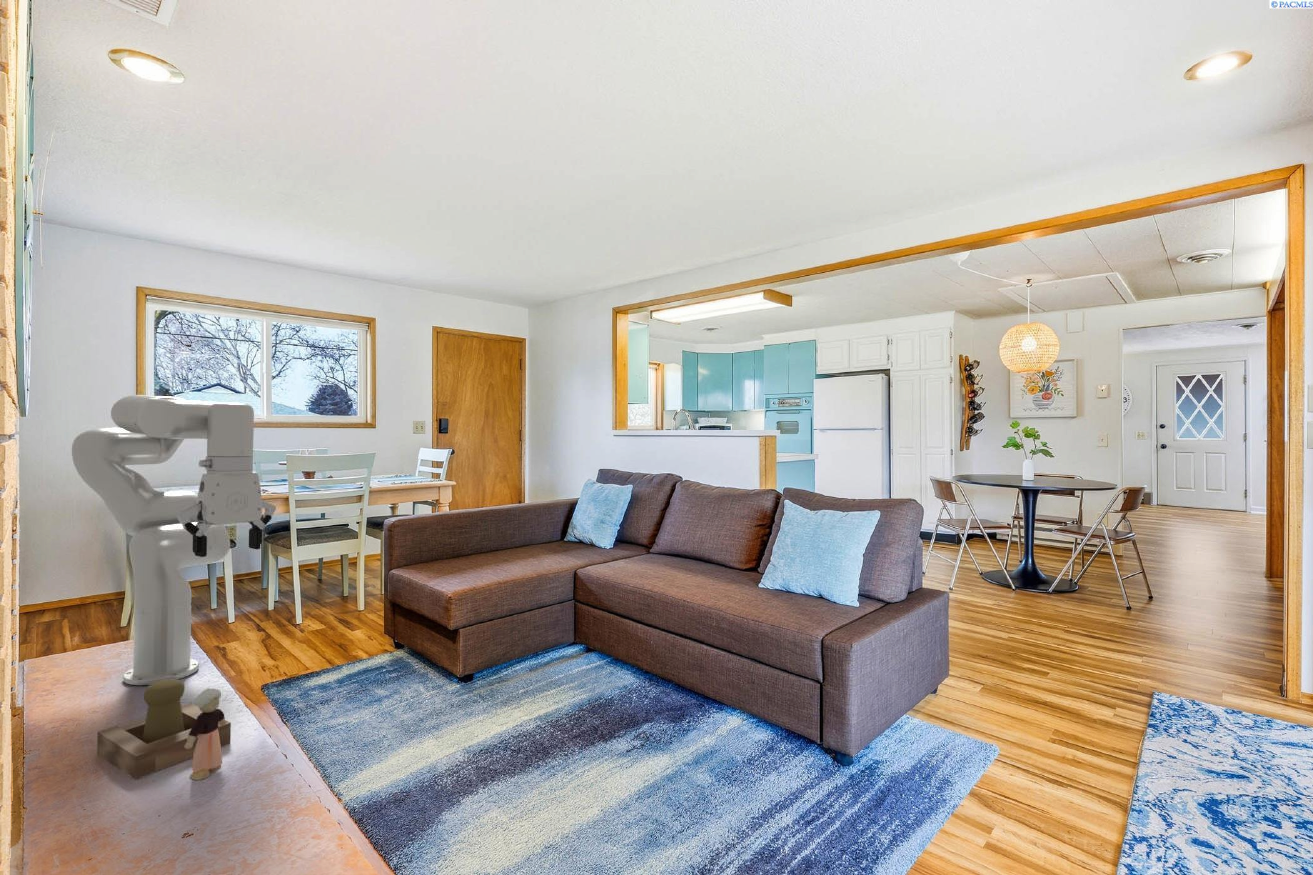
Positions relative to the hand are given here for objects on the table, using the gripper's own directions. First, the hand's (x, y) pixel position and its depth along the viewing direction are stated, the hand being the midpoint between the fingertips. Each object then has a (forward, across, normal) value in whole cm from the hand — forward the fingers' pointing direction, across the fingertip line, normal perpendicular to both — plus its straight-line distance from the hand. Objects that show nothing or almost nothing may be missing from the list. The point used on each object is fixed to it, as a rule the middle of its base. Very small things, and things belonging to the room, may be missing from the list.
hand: (228, 552), depth 123 cm
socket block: (+28, -16, -14) cm, 35 cm away
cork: (+28, -16, -14) cm, 35 cm away
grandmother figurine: (+28, -15, -27) cm, 42 cm away
